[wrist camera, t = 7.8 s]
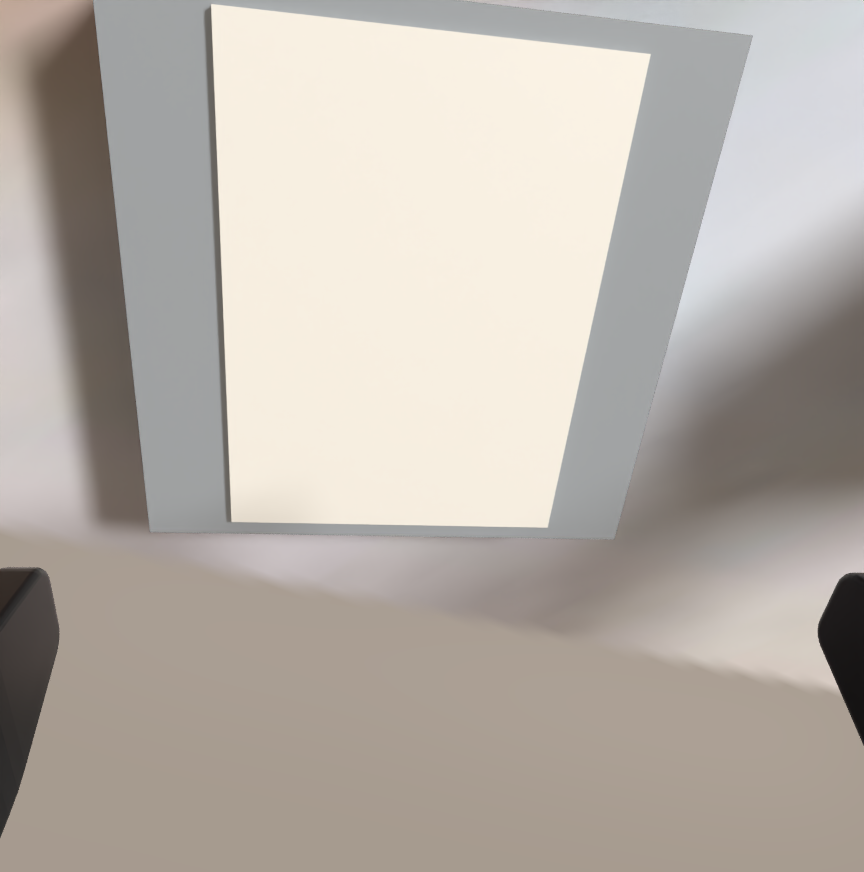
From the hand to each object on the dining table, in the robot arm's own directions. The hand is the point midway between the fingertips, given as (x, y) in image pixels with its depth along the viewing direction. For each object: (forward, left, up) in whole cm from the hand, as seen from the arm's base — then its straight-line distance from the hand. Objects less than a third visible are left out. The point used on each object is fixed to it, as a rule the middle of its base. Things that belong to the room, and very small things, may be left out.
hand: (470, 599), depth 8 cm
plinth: (0, 0, -12) cm, 12 cm away
